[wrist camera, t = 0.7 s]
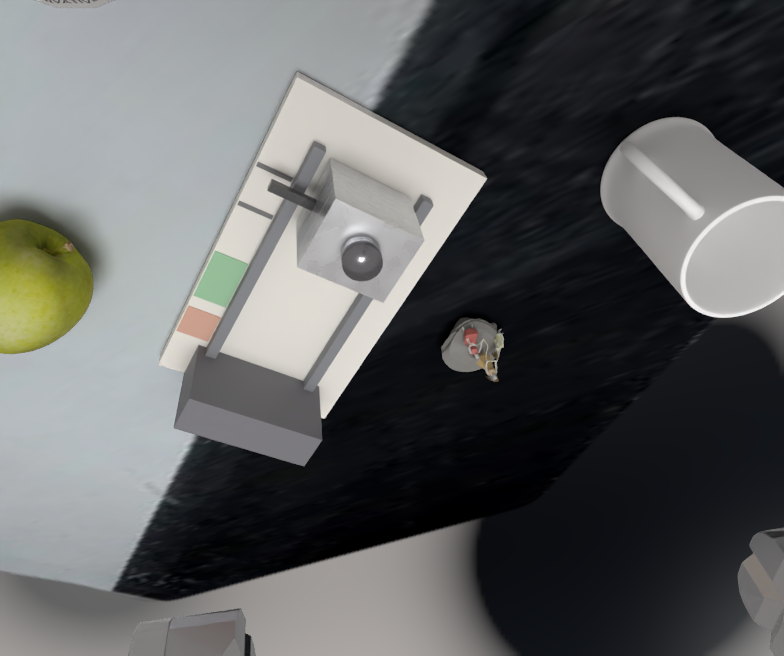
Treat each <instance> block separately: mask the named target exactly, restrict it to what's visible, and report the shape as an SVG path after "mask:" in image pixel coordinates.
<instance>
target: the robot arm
mask: <svg viewBox="0 0 784 656" xmlns="http://www.w3.org/2000/svg"><path fill="white" fill-rule="evenodd" d="M749 546H750V547H751V549H752V551H753V552H754V553H753V554H752V555H751V556H750V557H748V558H747V559H746V560H745V561H743V562H742V564H741V567H740V570H739V573H738V582H739V590H740V594H741V597H742V600H743V602H744V605H745V607H746V609H747V610H748V612H749V614H750V615H751V617H752V619H753V621H754V622H756V623H757V624H759V625H760V626H762V627H763V628H765V629H766V630H768V631H769V632H770V633H771V641H770V649H771V651H772V652H773V654H774V656H784V528H780V529H774V530H768V531H762V532H759V533H758V534H756V535H754V536H753V538H752V540H751V543H750V545H749ZM245 626H246V619H245V617H244V614H243V612H242V609H241V608H240V609H233V610H227V611H219V612H213V613H206V614H199V615H193V616H186V617H179V618H167V619H161V620H154V621H148V622H142V623H138V625H137V627H136V629H135V631H134V633H133V635H132V640H131V644H130V650H129V655H128V656H256V655H255V648H254V644H253V641H252V637H251V636H250V635H248V634H246V633H245Z"/></svg>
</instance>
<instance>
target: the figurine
mask: <svg viewBox="0 0 784 656" xmlns="http://www.w3.org/2000/svg"><path fill="white" fill-rule="evenodd" d="M501 330H502V329H500V330H498V333H497V325H496V324H495V323H491V324H490V323H488V322H487V321H485V320H483V319H481V318H476V319H472V318H467V317H465V318H461V319H459V320H458V321H457V323H456V324H455V326H454V328H453V330H451V333H450V335H449V337H448V339H447V340H446V341H445V342H444V344H443V345H442V347H441V350H442V357H443V360H444V362H445V363H446V364H447V365H448V366H449V367H450V368H451V369H453V370H456V371H461V372H470V371H475V370H478V369H481V368H483V369H485V370H486V373H487V375H488V376H489V377H487V378H488V379H490V380H491V381H494V382H496V381H497V382H498V381H499V380H498V378H497V377H496V376H497V375H496V374H497V361H498V357H499V352H500V349H501V347H503V340H504V338H503V336H502V334H503V333H502V334H501V333H500V331H501ZM494 358H496V359H497V360H495V361H493V360H494ZM492 362H495V369H493V364H492ZM485 376H486V375H485Z"/></svg>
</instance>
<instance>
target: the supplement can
mask: <svg viewBox="0 0 784 656" xmlns="http://www.w3.org/2000/svg"><path fill="white" fill-rule="evenodd" d="M35 1H38V2H41V3H44V4H47V5H50V6H53V7H55V8H97V7H99V6H102V5H104V4H107V3H109V2H111V1H114V0H35Z"/></svg>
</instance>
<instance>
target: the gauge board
mask: <svg viewBox="0 0 784 656" xmlns="http://www.w3.org/2000/svg"><path fill="white" fill-rule="evenodd" d="M330 158H332V159H334V160H336V161H338V162H340V163H342V164H344V165H346V166H348V167H350V168H352V169H354V170H356V171H358V172H360V173H362V174H364V175H366V176H368V177H370V178H372V179H374V180H376V181H378V182H380V183H382V184H384V185H386V186H388V187H390V188H392V189H394V190H396V191H399V192H401V193H403V194H405V195H407V196H409V197H410V198H411V201H412V204H413V207H414V210H415V213H416V216H417V219H418V222H419V225H420V228H421V231H422V234H423V237H424V240H425V241H424V242H423V244H422V245H421V247H420V248H419V250H418V251H417V253H416V254H415V256H414V257H413V259H412V260H411V262H410V263H409V265H408V266H407V268H406V269H405V271H404V272H403V274H402V275H401V277H400V278H399V280H398V281H397V283H396V285H395V286H394V288H393V289H392V291H391V292H390V294H389V295H388V297H387V298H386V300H385V301H384V303H382V302H380V301H377V300H375V299H372V298H370V297H368V296H365V295H363V294H360V293H358V292H356V291H353V290H351V289H348V288H346V287H344V286H341V285H339V284H336V283H334V282H332V281H329V280H327V279H324V278H322V277H320V276H317V275H315V274H312V273H310V272H308V271H305V270H303V269H300V268H298V267H297V239H296V220H297V219H298V217H299V215H300V213H301V211H302V209H303V207H302V206H299V205H297V204H295V203H293V202H291V201H288V200H286V199H284V198H282V197H280V196H277V195H275V194H273V193H271V192H269V191H267V189H268V185H269V183H270V181H271V179H273V180H276V181H278V182H280V183H282V184H284V185H286V186H289V187H291V188H293V189H295V190H297V191H299V192H302V193H304V194H306V195H308V196H310V194H311V193H312V191H313V189H314V187H315V185H316V183H317V182H318V180H319V178H320V176H321V174H322V172H323V170H324V169H325V167H326V165H327V163H328V161H329V159H330ZM486 180H487V178H486V176H485V174H484V172H483V171H481V170H479V169H478V168H476V167H474V166H472V165H470V164H468V163H466V162H464V161H463V160H461V159H459V158H457V157H455V156H453V155H451V154H450V153H448V152H446V151H444V150H442V149H440V148H438V147H437V146H435V145H433V144H431V143H429V142H427V141H425V140H424V139H422V138H420V137H418V136H416V135H414V134H412V133H411V132H409V131H407V130H405V129H403V128H401V127H399V126H398V125H396V124H394V123H392V122H390V121H388V120H386V119H385V118H383V117H381V116H379V115H377V114H375V113H373V112H372V111H370V110H368V109H366V108H364V107H362V106H360V105H359V104H357V103H355V102H353V101H351V100H349V99H347V98H346V97H344V96H342V95H340V94H338V93H336V92H334V91H333V90H331V89H329V88H327V87H325V86H323V85H321V84H319V83H318V82H316V81H314V80H312V79H310V78H308V77H306V76H305V75H303V74H301V73H299V72H296V74H295V76H294V78H293V80H292V83H291V85H290V87H289V89H288V91H287V93H286V95H285V97H284V99H283V101H282V103H281V105H280V107H279V110H278V112H277V114H276V116H275V118H274V120H273V122H272V124H271V126H270V128H269V130H268V132H267V135H266V137H265V139H264V141H263V143H262V145H261V147H260V149H259V151H258V153H257V155H256V157H255V160H254V162H253V164H252V166H251V168H250V170H249V172H248V174H247V176H246V178H245V180H244V182H243V185H242V187H241V189H240V191H239V193H238V195H237V197H236V199H235V201H234V203H233V205H232V207H231V209H230V212H229V214H228V216H227V218H226V220H225V222H224V224H223V226H222V228H221V230H220V232H219V234H218V237H217V239H216V241H215V243H214V245H213V247H212V249H211V251H210V253H209V255H208V257H207V259H206V262H205V264H204V266H203V268H202V270H201V272H200V274H199V276H198V278H197V280H196V282H195V284H194V287H193V289H192V291H191V293H190V295H189V297H188V299H187V301H186V303H185V305H184V307H183V309H182V311H181V314H180V316H179V318H178V320H177V322H176V324H175V326H174V328H173V330H172V332H171V334H170V336H169V339H168V341H167V343H166V345H165V347H164V349H163V351H162V353H161V356H160V360H159V365H162V366H165V367H168V368H171V369H174V370H177V371H180V372H183V373H184V377H183V382H182V387H181V392H180V398H179V403H178V408H177V413H176V418H175V424H174V428H175V429H178V430H182V431H185V432H189V433H192V434H195V435H199V436H202V437H206V438H209V439H212V440H216V441H219V442H223V443H226V444H230V445H233V446H236V447H240V448H243V449H247V450H250V451H253V452H257V453H260V454H264V455H267V456H271V457H274V458H277V459H281V460H284V461H288V462H291V463H294V464H298V465H301V466H305V464H306V463H307V461H308V460H309V458H310V457H311V456H312V454H313V453H314V451H315V450H316V448H317V447H318V445H319V444H320V442H321V441H322V429H321V418H324V419H325V417H326V416H327V414H328V413H329V411H330V410H331V408H332V407H333V405H334V404H335V402H336V401H337V399H338V398H339V396H340V395H341V393H342V392H343V391H344V389H345V388H346V386H347V385H348V383H349V382H350V380H351V379H352V377H353V376H354V374H355V373H356V371H357V370H358V368H359V367H360V365H361V364H362V363H363V361H364V360H365V358H366V357H367V355H368V354H369V352H370V351H371V349H372V348H373V346H374V345H375V343H376V342H377V340H378V339H379V337H380V336H381V334H382V333H383V332H384V330H385V329H386V327H387V326H388V324H389V323H390V321H391V320H392V318H393V317H394V315H395V314H396V312H397V311H398V309H399V308H400V306H401V305H402V304H403V302H404V301H405V299H406V298H407V296H408V295H409V293H410V292H411V290H412V289H413V287H414V286H415V284H416V283H417V281H418V280H419V278H420V277H421V275H422V274H423V273H424V271H425V270H426V268H427V267H428V265H429V264H430V262H431V261H432V259H433V258H434V256H435V255H436V253H437V252H438V250H439V249H440V247H441V246H442V245H443V243H444V242H445V240H446V239H447V237H448V236H449V234H450V233H451V231H452V230H453V228H454V227H455V225H456V224H457V222H458V221H459V219H460V218H461V216H462V215H463V214H464V212H465V211H466V209H467V208H468V206H469V205H470V203H471V202H472V200H473V199H474V197H475V196H476V194H477V193H478V191H479V190H480V188H481V187H482V186H483V184H484V183H485V181H486Z"/></svg>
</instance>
